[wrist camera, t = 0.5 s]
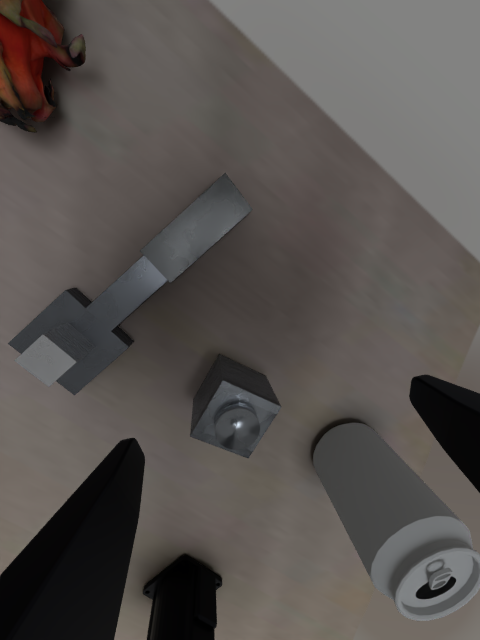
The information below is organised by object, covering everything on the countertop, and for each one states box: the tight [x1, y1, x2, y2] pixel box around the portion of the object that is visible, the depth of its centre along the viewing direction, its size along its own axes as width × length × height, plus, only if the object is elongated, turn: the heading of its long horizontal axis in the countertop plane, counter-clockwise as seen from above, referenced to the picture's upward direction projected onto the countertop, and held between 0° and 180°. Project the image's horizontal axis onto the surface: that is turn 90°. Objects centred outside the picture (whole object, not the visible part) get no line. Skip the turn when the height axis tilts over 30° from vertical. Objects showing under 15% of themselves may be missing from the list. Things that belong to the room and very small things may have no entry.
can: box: [313, 423, 480, 621], centre depth 21 cm, size 8×8×12 cm
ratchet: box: [8, 173, 253, 395], centre depth 18 cm, size 20×6×4 cm, turn 130°
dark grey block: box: [190, 354, 281, 458], centre depth 20 cm, size 5×5×6 cm
